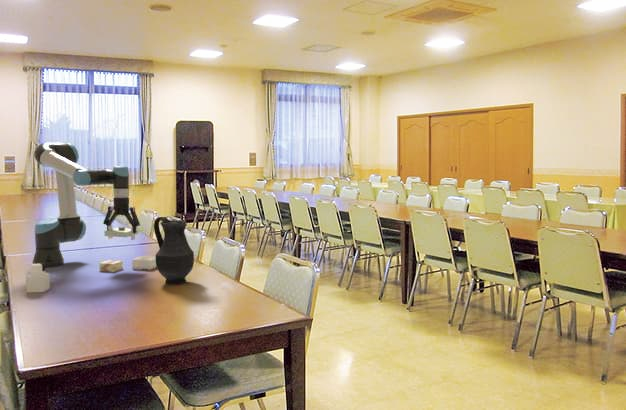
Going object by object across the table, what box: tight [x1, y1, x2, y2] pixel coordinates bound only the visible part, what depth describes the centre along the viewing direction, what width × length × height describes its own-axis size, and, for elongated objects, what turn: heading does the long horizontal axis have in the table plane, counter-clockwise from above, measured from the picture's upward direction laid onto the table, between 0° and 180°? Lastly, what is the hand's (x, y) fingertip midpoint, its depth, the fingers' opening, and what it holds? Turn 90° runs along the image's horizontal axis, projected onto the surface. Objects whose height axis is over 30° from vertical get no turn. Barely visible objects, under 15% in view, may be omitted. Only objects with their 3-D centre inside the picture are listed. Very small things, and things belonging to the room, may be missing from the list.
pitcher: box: [153, 216, 195, 286], centre depth 267 cm, size 17×21×30 cm
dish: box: [131, 255, 157, 271], centre depth 301 cm, size 10×10×5 cm
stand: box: [99, 259, 124, 273], centre depth 295 cm, size 8×8×4 cm
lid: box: [104, 226, 140, 238], centre depth 296 cm, size 12×12×4 cm
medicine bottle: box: [25, 262, 51, 294], centre depth 250 cm, size 7×7×12 cm
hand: (121, 239), depth 296 cm, fingers closed on lid, 12 cm apart
